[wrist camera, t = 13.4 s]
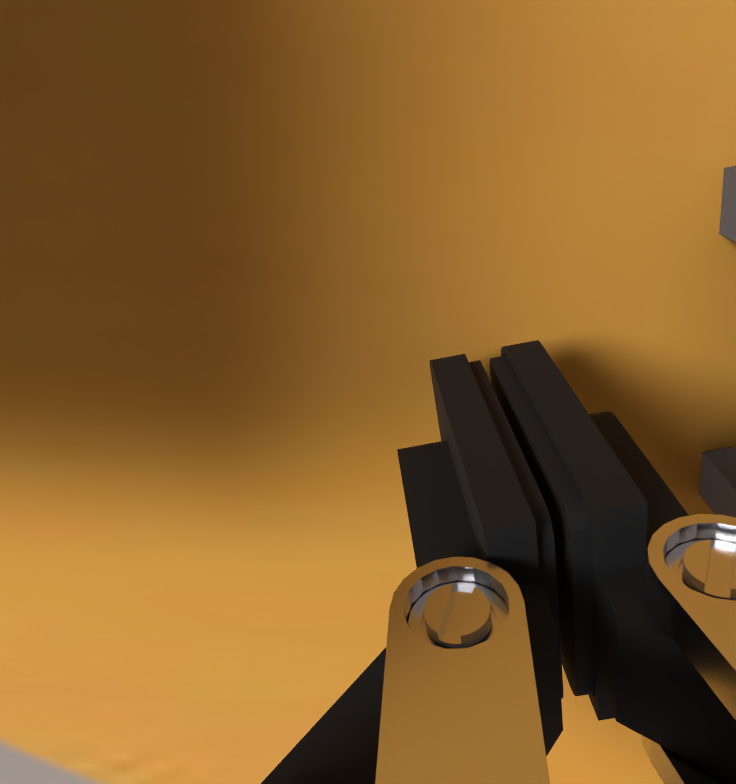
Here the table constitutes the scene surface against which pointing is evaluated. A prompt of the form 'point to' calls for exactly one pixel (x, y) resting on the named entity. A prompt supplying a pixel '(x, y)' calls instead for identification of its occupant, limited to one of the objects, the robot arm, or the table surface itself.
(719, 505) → the grey square-flanged spool
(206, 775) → the table surface
